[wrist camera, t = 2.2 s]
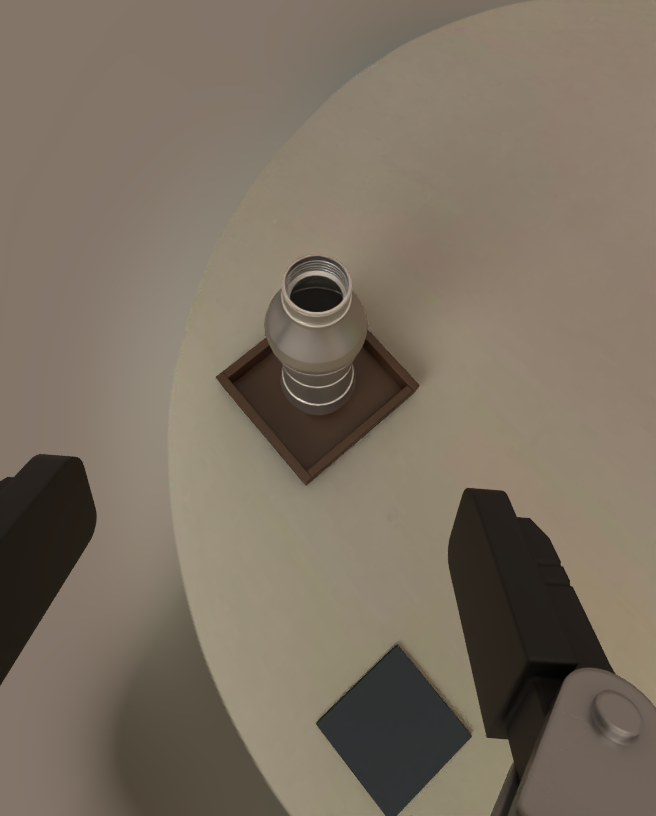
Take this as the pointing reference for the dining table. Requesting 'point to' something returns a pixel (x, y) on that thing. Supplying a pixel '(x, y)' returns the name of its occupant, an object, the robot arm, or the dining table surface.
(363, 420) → the tray
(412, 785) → the mat
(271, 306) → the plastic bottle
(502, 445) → the dining table surface
